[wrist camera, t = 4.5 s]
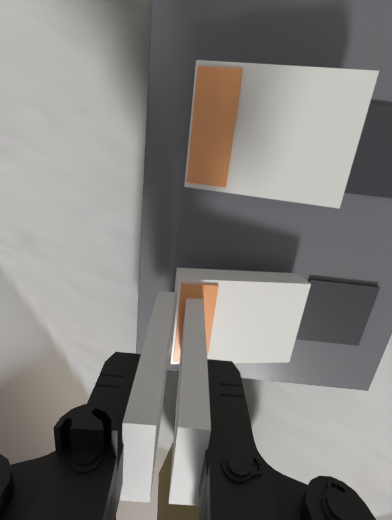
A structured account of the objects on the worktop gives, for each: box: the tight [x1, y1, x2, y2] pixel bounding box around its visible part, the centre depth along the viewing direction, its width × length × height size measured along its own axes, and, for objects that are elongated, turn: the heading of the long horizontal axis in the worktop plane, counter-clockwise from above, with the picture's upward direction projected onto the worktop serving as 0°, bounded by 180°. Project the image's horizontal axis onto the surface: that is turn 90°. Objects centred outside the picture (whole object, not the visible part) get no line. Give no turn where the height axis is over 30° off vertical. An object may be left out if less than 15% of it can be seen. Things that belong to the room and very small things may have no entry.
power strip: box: [136, 0, 392, 391], centre depth 14 cm, size 21×26×5 cm
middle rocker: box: [184, 60, 379, 209], centre depth 11 cm, size 6×4×1 cm
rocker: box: [170, 268, 311, 364], centre depth 14 cm, size 6×4×1 cm
